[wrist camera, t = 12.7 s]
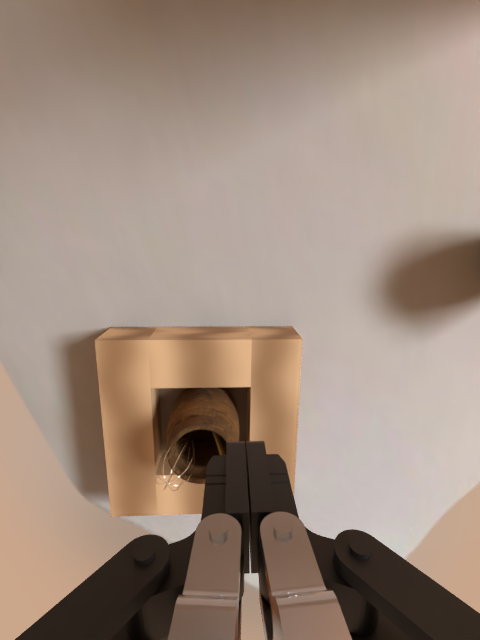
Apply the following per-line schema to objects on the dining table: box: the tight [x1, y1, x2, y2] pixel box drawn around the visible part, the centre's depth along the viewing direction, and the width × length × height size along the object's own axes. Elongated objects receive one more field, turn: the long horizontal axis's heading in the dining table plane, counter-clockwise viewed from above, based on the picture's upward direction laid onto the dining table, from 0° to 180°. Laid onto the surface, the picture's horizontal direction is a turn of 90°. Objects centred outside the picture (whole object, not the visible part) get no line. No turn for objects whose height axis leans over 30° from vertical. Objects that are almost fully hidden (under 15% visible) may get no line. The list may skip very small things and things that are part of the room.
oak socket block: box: [95, 326, 302, 517], centre depth 30 cm, size 16×16×4 cm
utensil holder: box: [155, 387, 239, 491], centre depth 26 cm, size 6×6×12 cm
